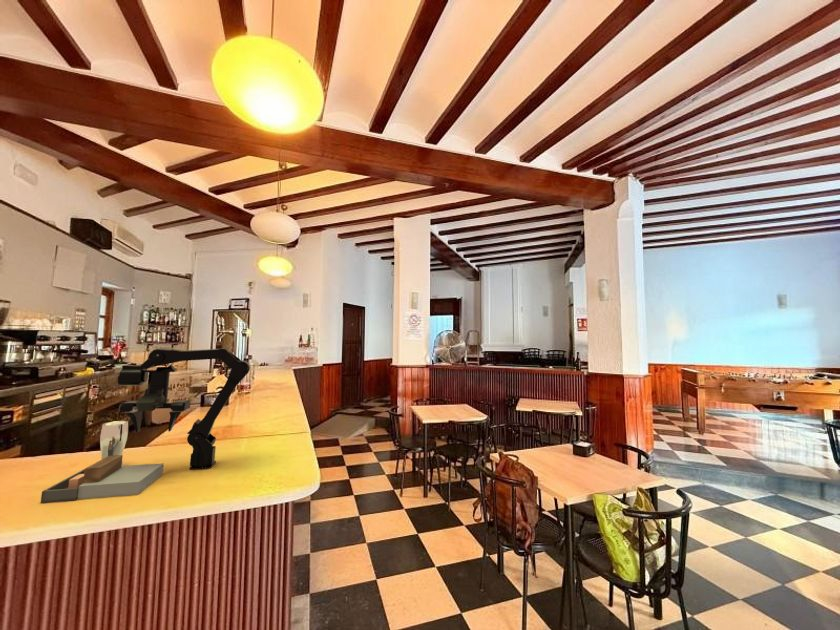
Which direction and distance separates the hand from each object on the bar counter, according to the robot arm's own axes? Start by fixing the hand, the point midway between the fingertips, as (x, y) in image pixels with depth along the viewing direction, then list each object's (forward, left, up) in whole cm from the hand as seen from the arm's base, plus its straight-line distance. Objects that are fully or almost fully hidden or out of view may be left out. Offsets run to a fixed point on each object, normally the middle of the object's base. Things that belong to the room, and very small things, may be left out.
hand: (153, 431), depth 112 cm
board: (+2, +11, -13) cm, 17 cm away
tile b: (+11, +14, -10) cm, 20 cm away
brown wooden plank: (+7, +11, -10) cm, 16 cm away
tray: (+12, +11, -13) cm, 21 cm away
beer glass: (+14, -6, -13) cm, 20 cm away
